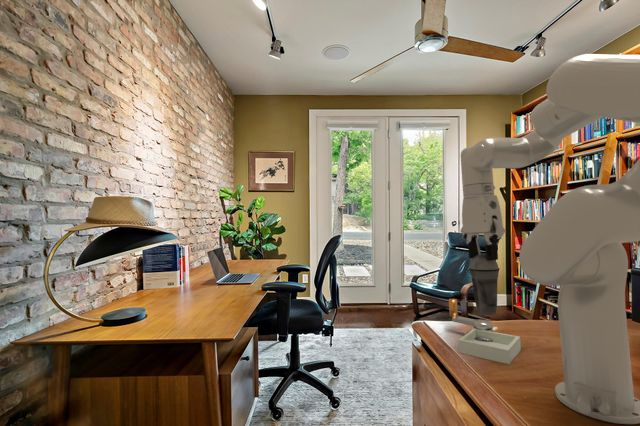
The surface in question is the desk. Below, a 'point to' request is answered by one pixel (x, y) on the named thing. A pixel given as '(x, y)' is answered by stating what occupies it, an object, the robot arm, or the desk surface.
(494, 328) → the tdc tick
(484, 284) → the beverage cup
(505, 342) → the tray
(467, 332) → the crank base
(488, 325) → the crank
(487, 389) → the desk surface
